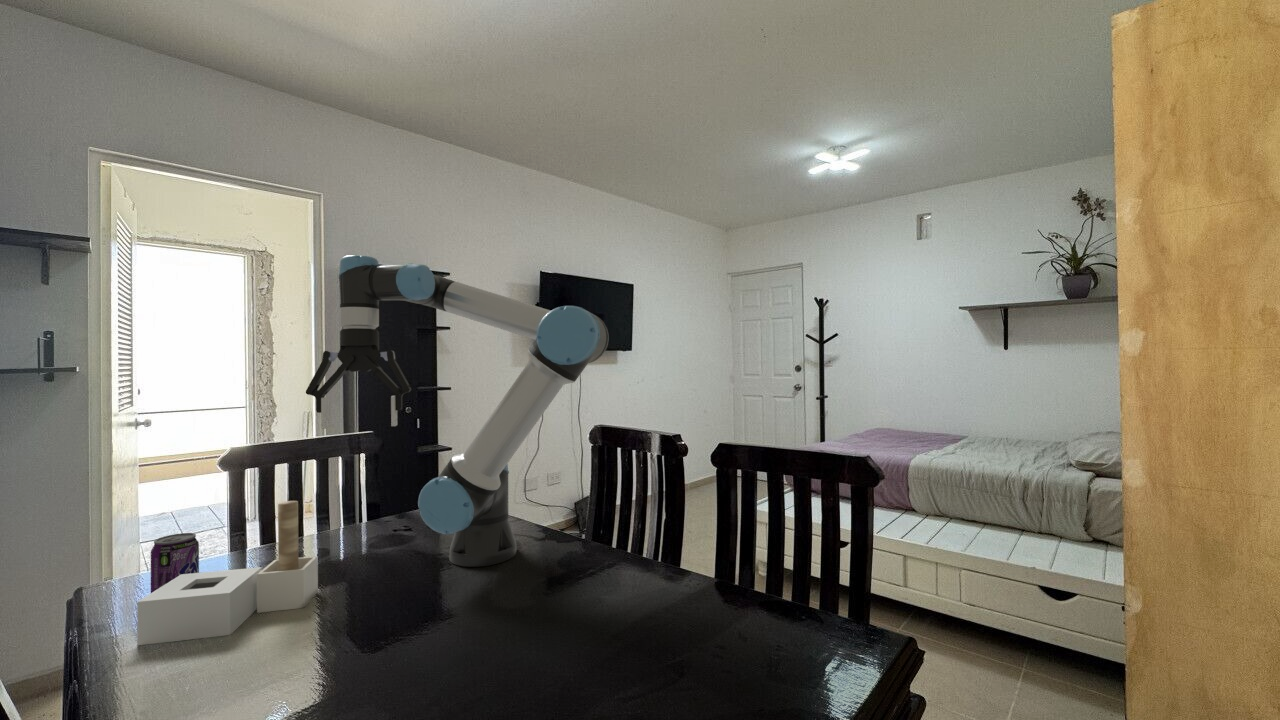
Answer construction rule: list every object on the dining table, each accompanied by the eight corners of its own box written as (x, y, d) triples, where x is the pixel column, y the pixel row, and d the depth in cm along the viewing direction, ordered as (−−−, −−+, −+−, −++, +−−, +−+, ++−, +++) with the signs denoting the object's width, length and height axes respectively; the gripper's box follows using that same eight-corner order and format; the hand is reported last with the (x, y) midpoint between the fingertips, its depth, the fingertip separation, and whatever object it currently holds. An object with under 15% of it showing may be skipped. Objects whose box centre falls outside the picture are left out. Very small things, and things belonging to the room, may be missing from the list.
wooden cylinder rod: (301, 593, 105) (300, 500, 105) (295, 599, 102) (294, 504, 102) (282, 594, 104) (282, 501, 104) (275, 601, 101) (275, 505, 101)
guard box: (262, 604, 102) (261, 567, 102) (230, 634, 90) (229, 592, 90) (181, 612, 99) (181, 574, 99) (137, 645, 87) (137, 601, 87)
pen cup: (317, 591, 107) (317, 556, 107) (303, 607, 100) (303, 569, 100) (274, 595, 106) (274, 559, 106) (257, 612, 98) (256, 574, 98)
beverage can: (170, 609, 100) (170, 544, 100) (140, 606, 102) (140, 542, 102) (208, 593, 107) (208, 532, 107) (179, 591, 109) (179, 531, 109)
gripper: (423, 329, 123) (424, 422, 123) (301, 329, 117) (302, 427, 117) (418, 327, 116) (419, 426, 116) (287, 327, 110) (288, 431, 110)
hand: (360, 427), depth 116 cm, fingers open, 13 cm apart
